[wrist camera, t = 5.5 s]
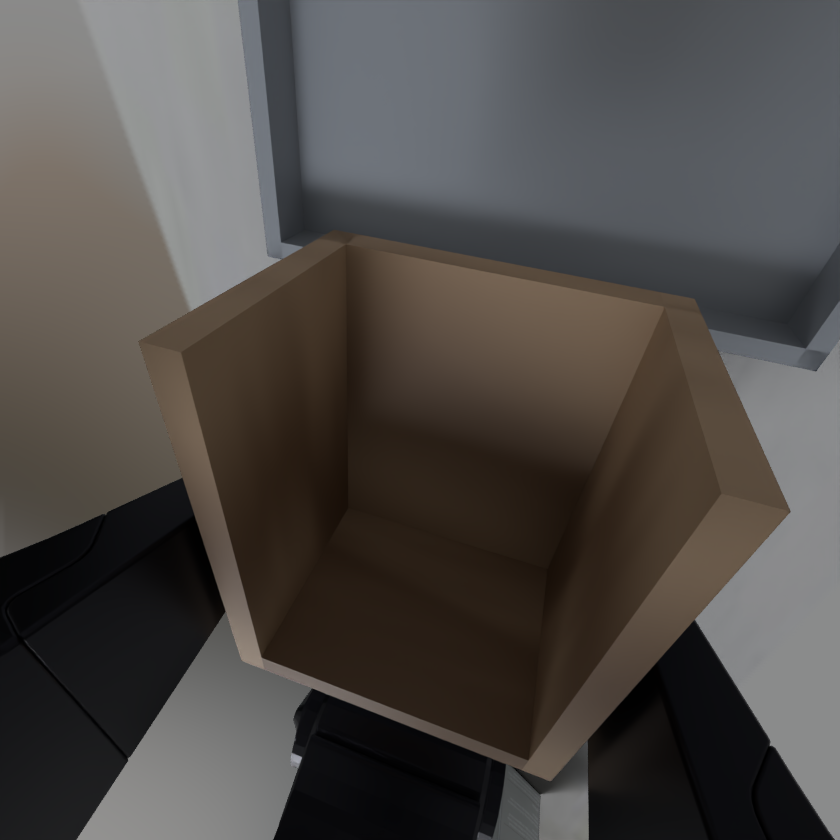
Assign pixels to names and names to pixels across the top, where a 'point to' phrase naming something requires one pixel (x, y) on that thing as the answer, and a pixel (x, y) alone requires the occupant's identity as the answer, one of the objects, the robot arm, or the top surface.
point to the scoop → (460, 484)
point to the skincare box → (518, 809)
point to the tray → (570, 144)
